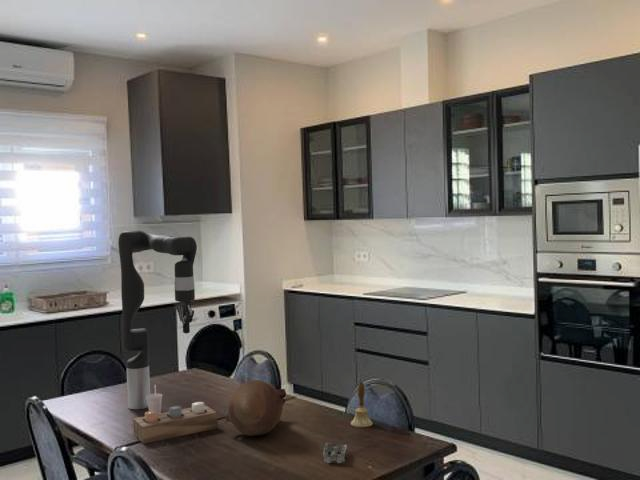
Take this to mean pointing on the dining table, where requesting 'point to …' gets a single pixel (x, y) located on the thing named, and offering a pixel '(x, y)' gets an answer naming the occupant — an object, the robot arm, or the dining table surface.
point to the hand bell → (361, 410)
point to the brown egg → (151, 416)
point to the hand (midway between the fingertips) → (186, 332)
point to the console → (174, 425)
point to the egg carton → (334, 453)
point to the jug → (255, 407)
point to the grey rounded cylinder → (175, 412)
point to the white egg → (198, 407)
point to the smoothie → (154, 401)
